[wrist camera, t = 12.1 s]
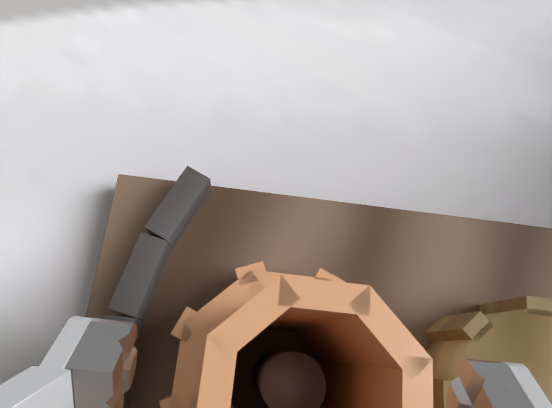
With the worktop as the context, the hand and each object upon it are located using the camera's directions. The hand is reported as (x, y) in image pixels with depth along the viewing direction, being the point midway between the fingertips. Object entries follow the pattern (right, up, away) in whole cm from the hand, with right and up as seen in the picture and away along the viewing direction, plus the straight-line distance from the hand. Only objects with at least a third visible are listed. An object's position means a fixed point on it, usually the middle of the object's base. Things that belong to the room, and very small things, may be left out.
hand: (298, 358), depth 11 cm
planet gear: (-1, -2, +5) cm, 6 cm away
